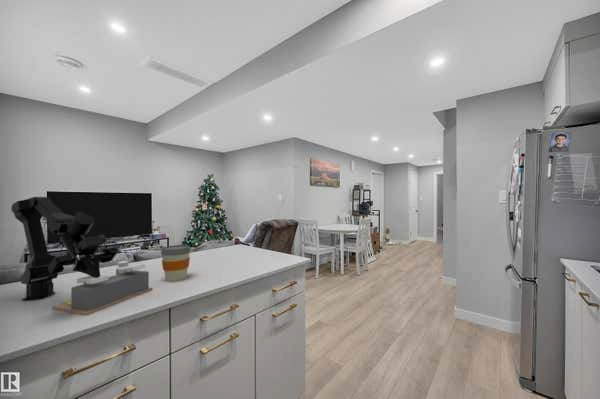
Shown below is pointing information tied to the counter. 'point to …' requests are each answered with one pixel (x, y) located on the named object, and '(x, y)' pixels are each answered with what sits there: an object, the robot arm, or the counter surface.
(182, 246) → the reusable coffee cup
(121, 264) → the supplement bottle
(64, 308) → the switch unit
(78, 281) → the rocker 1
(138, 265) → the rocker
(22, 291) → the counter surface
